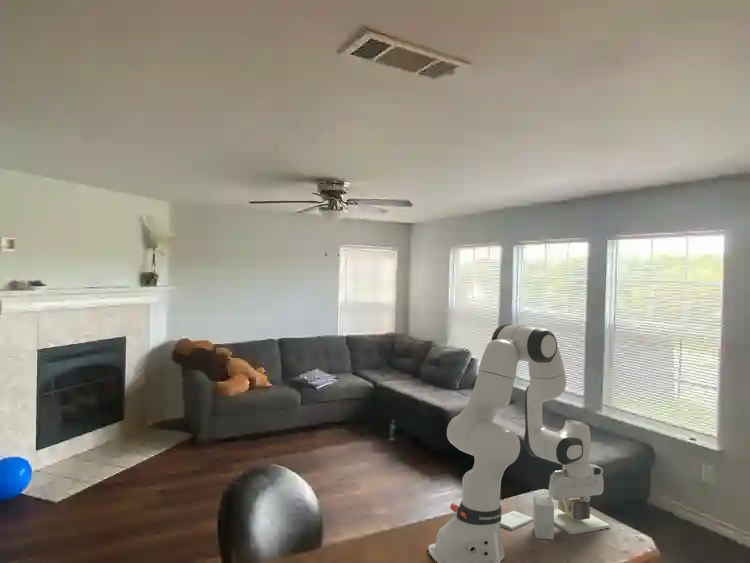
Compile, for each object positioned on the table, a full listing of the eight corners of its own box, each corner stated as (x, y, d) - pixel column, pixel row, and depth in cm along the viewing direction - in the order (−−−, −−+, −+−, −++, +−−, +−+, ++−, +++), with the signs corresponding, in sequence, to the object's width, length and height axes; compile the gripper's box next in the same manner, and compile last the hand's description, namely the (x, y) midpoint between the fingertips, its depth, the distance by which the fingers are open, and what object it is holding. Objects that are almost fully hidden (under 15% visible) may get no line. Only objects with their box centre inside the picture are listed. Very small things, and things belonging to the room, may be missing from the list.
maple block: (557, 508, 187) (577, 520, 177) (558, 494, 187) (577, 505, 177) (569, 506, 188) (589, 518, 179) (569, 492, 189) (590, 503, 179)
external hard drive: (491, 524, 181) (513, 514, 189) (511, 532, 174) (533, 522, 183) (491, 519, 181) (513, 509, 189) (511, 527, 175) (533, 517, 183)
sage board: (570, 534, 173) (570, 531, 173) (539, 514, 188) (539, 511, 188) (609, 528, 178) (610, 525, 178) (576, 509, 193) (577, 506, 193)
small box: (553, 540, 168) (554, 506, 168) (535, 538, 169) (535, 504, 170) (550, 529, 176) (551, 497, 176) (533, 527, 177) (533, 495, 177)
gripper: (556, 474, 176) (556, 517, 175) (607, 468, 182) (606, 509, 182) (544, 468, 182) (544, 509, 181) (593, 463, 188) (593, 502, 188)
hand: (575, 509), depth 182 cm, fingers closed on maple block, 5 cm apart
